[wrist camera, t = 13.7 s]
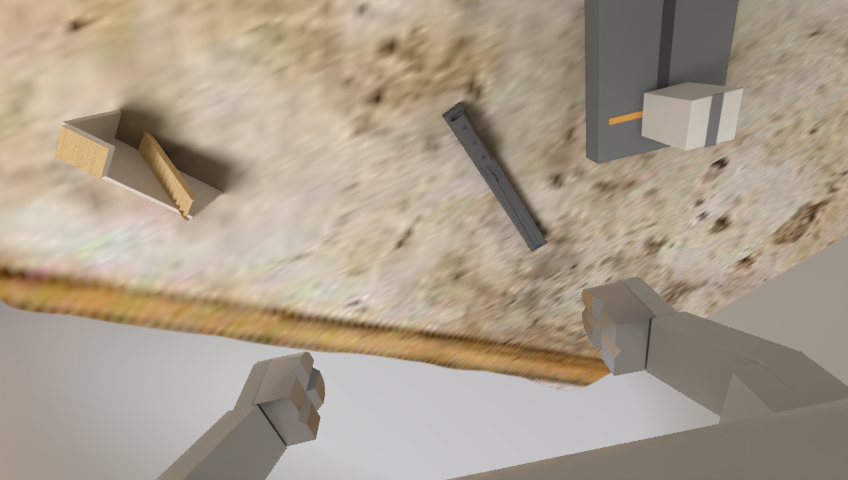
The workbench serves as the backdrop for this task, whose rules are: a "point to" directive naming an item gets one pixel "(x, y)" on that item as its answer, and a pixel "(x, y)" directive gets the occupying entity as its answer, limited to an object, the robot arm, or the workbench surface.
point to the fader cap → (691, 114)
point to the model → (131, 164)
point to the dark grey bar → (493, 175)
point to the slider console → (647, 63)
